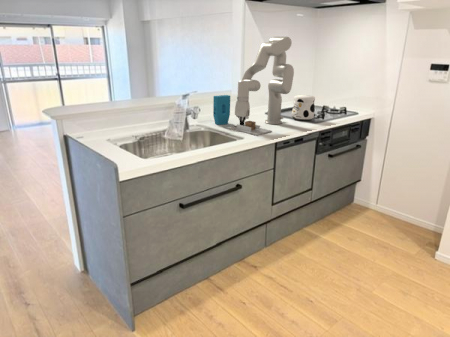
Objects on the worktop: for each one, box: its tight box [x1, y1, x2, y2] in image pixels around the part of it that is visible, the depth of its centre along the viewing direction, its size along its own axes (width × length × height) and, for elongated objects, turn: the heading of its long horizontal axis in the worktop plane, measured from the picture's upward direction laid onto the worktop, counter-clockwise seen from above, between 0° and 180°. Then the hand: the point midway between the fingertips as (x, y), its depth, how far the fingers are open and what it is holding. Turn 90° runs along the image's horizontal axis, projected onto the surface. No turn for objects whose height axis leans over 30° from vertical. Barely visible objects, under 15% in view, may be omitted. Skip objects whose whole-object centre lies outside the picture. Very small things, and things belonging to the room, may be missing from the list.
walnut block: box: [244, 120, 257, 130], centre depth 224 cm, size 5×5×5 cm
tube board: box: [229, 123, 273, 137], centre depth 224 cm, size 16×24×3 cm, turn 45°
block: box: [212, 94, 231, 126], centre depth 239 cm, size 12×5×20 cm, turn 125°
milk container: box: [291, 94, 316, 122], centre depth 261 cm, size 17×17×18 cm
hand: (241, 126), depth 230 cm, fingers closed
